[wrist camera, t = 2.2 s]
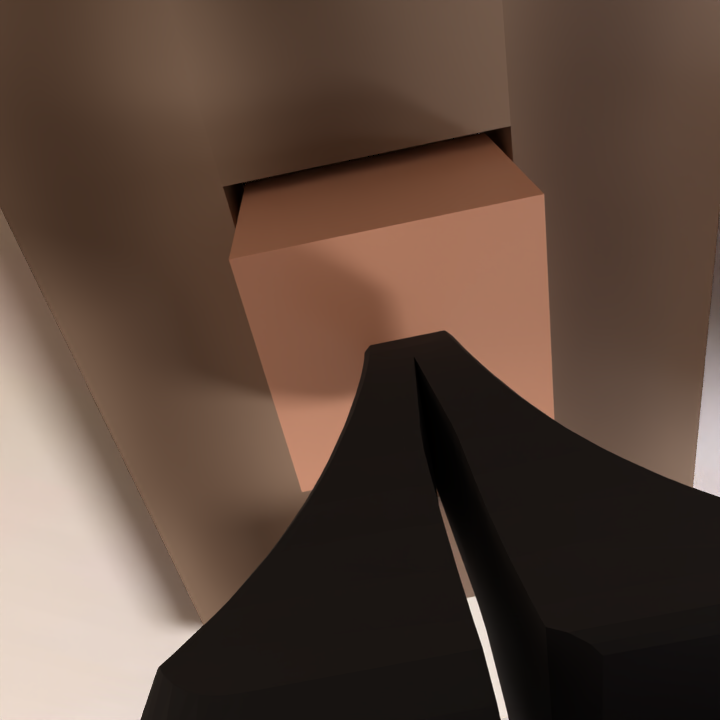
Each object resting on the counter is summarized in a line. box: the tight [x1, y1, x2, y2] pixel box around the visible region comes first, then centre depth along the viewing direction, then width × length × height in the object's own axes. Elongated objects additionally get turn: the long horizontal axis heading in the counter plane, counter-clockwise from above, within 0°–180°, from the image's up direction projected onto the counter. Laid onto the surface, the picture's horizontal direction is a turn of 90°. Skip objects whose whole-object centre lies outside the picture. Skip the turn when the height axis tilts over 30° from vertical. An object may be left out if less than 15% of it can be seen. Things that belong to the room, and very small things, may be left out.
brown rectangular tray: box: [0, 0, 720, 625], centre depth 16 cm, size 14×26×2 cm, turn 10°
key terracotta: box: [229, 133, 554, 492], centre depth 14 cm, size 5×5×4 cm
